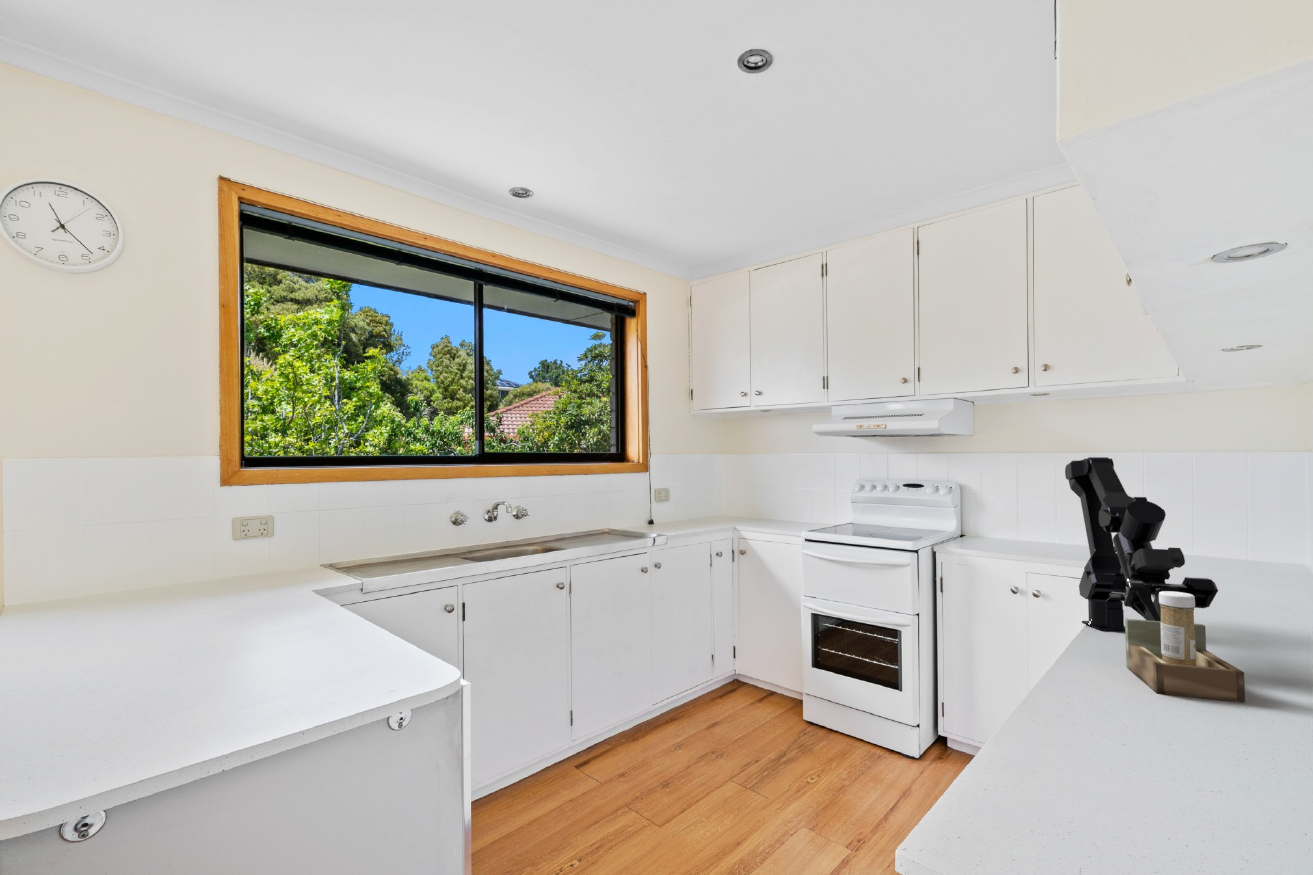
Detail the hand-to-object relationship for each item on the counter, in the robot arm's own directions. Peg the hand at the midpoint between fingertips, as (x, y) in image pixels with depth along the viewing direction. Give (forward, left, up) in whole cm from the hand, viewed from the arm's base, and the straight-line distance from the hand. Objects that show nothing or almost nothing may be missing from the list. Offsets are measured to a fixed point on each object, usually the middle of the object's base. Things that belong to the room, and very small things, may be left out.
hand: (1162, 631), depth 110 cm
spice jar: (+7, -3, -6) cm, 9 cm away
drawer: (+6, -2, -7) cm, 9 cm away
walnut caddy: (+7, -3, -7) cm, 10 cm away
